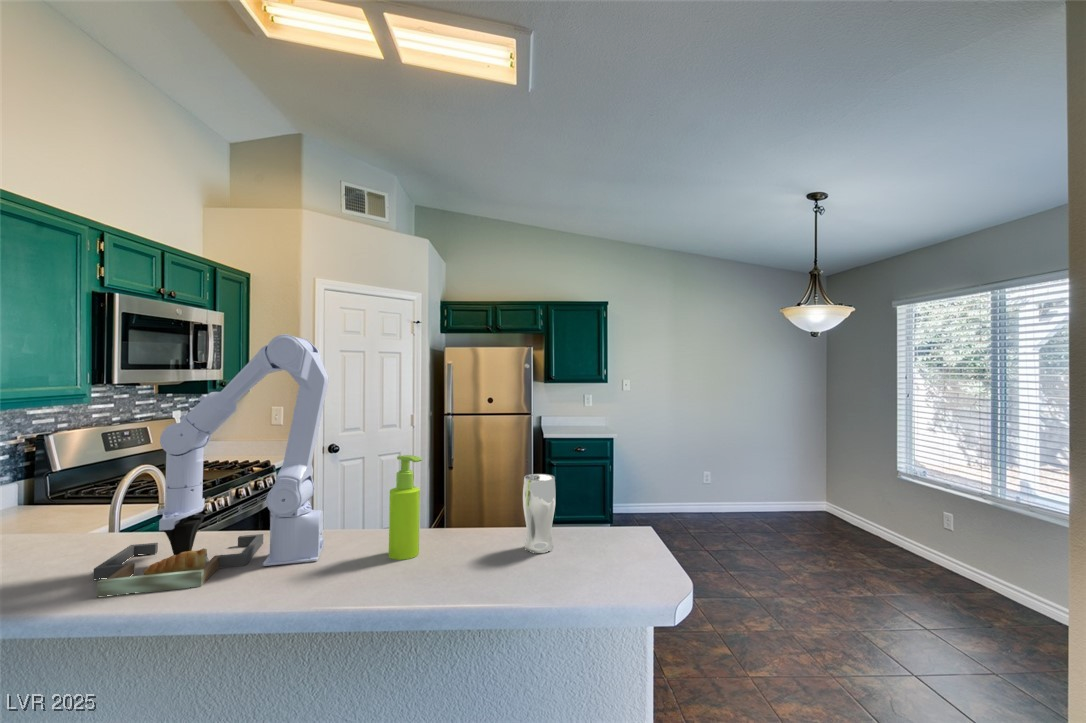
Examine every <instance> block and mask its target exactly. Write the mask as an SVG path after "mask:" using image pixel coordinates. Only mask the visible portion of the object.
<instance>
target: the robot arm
mask: <svg viewBox="0 0 1086 723" xmlns="http://www.w3.org/2000/svg"><path fill="white" fill-rule="evenodd" d="M320 354H321V353H320V350H319V349H318V348H317V347H316V346H315V345H314V344H313V343H312V342H311V341H310V340H309V339H306V338H303V337H296V336H293V335H292V334H285V333H283V334H278V335H276V336H274V337H273V338H272V339H271V340H270V341H269V342H268V344H265V345H264V346H262V347H261V348H260V349H259V350H258V352H257V353H256V354H255V355H254V356H253V357H252V359H251V360H250V361H248V362H247V363H246V364H245V365H244V366H243V367H242V369H241V370H240V371H239V372H237V374H236V375H235V376H234V377H233V378H232V379H231V380H230V382H228V383H227V385H226V386H225V387H224V388H223V389H222V390H221V391H210V392H209V393H208V394H201V396H200V397H198V401H199V402H198V403H197V404H196V405H195V406H194V407H193V408H192V409H190V411H189V412H188V413H185V414H182V415H181V416H180V417H179V420H180V422H176V423H175V422H174V423H171V424H169V425H167V426H165V428H164V429H163V431H162V432H161V434H160V437H159V444H160V448H162V450H163V451H165V453H166V455H165V456H166V458H165V459H166V460H165V486H164V487H165V489H164V490H165V491H164V492H165V494H164V495H165V496H164V498H165V499H164V507H163V508H160V509H158V510H157V512H156V515H159V516H160V515H162V517H161V518H160V519H159V520H158V523H159V525H158V530H159V531H160V532H161V531H163V532H164V534H165V535H166V537H167V538H168V541H169V543H170V547H171V550H172V555H178V554H180V553H181V552H187V551H193V547H194V542H195V540H196V536H197V533H198V531H199V528H200V526H201V524H202V523H203V521H204V519H205V514H202V513H201V512H203V511H204V508H205V503H206V502H205V497H203V490H204V489H203V488H204V486H203V485H204V484H203V483H204V482H203V480H204V449H205V447H206V446H207V445H208V444H209V442H210V440H211V436H212V435H213V434H214V433H215V432H216V431H217V430H218V429H219V428H220V427H221V426H222V425H223V424H224V423H226V421H227V420H229V418H231V417H232V415H234V414H235V412H236V411H237V402H238V401H239V400H240V399H241V398H242V397H244V396H245V395H246V394H247V393H248V392H249V391H250V390H252V389H253V387H255V386H256V385H257V384H259V382H260V381H262V380H263V379H264V378H265V377H267V375H269V374H272V373H276V372H277V373H278V372H281V371H285V372H287V373H288V374H289V375H290V376H291V377H292V378H293V380H294V381H295V382H296V383H297V384H298V390H297V396H296V401H295V406H294V410H293V415H292V420H291V424H290V425H291V426H290V430H289V434H288V439H287V444H286V449H285V453H284V458H283V461H282V465H281V467H280V468H279V471H278V472H277V475H276V477H275V481H274V484H273V486H272V487H271V489H270V490H269V491H268V493H267V495H266V498H265V501H266V502H265V503H266V506H267V509H268V510H269V511H270V521H269V522H270V523H269V524H270V526H269V530H270V531H269V532H270V533H269V554H268V555H267V557H266V559H265V560H264V561H263V563H262V566H263V567H267V566H268V567H269V566H270V567H271V566H278V565H287V564H288V565H290V564H297V563H307V562H309V563H310V562H316V561H318V560H319V558H320V555H321V553H322V551H323V549H324V511H323V510H321V509H312V508H313V507H312V505H311V502H310V500H311V498H312V497H313V496H314V494H315V490H316V489H315V488H316V487H315V483H314V480H313V479H314V478H313V476H314V468H313V467H314V466H313V465H312V463H313V458H314V453H315V448H316V445H317V438H318V434H319V428H320V425H321V419H322V415H323V409H324V403H325V399H326V395H327V390H328V385H329V376H328V373H327V371H326V368H325V366H324V363H323V361H322V358H321V355H320ZM200 513H201V514H200Z"/></svg>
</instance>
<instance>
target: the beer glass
mask: <svg viewBox="0 0 1086 723" xmlns="http://www.w3.org/2000/svg"><path fill="white" fill-rule="evenodd" d="M555 480H556V477H555V475H553V474H547V473H531V474H526V475H525V476H524V477H523V488H522V507H523V515H524V520H525V525H526V526H525V527H526V528H525V530H526V535H525V536H526V537H525V540H524V550H525V549H526V550H528V551H531V552H534V553H533V554H536V553H542V554H545V553H544V552H548V551H550V552H552V551H553V550H554V542H553V537H552V536H553V535H552V534H553V533H552V530H553V529H552V528H553V527H552V526H553V521H554V515H555V509H556V491H557V490H556V481H555ZM552 549H553V550H552ZM526 550H525V551H526ZM551 550H552V551H551ZM528 551H527V552H528ZM548 553H549V552H548Z"/></svg>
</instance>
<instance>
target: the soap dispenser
mask: <svg viewBox="0 0 1086 723" xmlns="http://www.w3.org/2000/svg"><path fill="white" fill-rule="evenodd" d="M396 458H397V460H399V461H400V470H398V471H397V472H396V481H395V482H396V486H395V487H393V488H391V489H390V490H389V515H388V516H389V518H388V524H389V526H388V527H389V528H388V558H390V559H391V560H394V561H395V560H396V561H406V560H410V559H413V558H416V557H417V556H418V555H419V554H420V499H421V498H420V496H421V495H420V494H421V490H420V487H418V486H414V482H415V480H414V479H415V478H414V477H415V476H414V474H415V473H414V471H413V470H411V469H410V462H413V463H418V462H422V461H423V458H421V457H419V456H416V455H413V454H411V455H409V454H407V455H406V454H403V455H398V456H397V457H396Z"/></svg>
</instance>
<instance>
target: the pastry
mask: <svg viewBox="0 0 1086 723" xmlns="http://www.w3.org/2000/svg"><path fill="white" fill-rule="evenodd" d="M209 561H210V560H209V557H208V549H207V548H201V549H199V550H191V551H187V552H181V553H180V554H178V555H174V554H172V555H170V556H169V557H166V558H163V559H161V560H160V561H156V562H154V563H152V564H150V565H149V566H148V567H147V568H146V569H144V571H143V575H152V574H162V573H172V572H182V571H192V570H201V569H202V568H203V567H204V566H205V565H206V564H207V563H208V562H209Z"/></svg>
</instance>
